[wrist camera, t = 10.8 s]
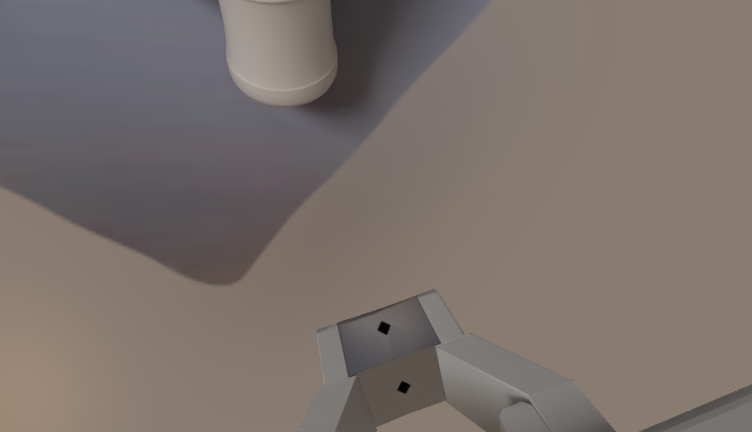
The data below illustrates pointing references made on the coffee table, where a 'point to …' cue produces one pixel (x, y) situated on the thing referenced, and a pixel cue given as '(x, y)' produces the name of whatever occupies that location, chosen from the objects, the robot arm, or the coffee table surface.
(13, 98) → the coffee table surface
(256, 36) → the vodka
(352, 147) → the coffee table surface
